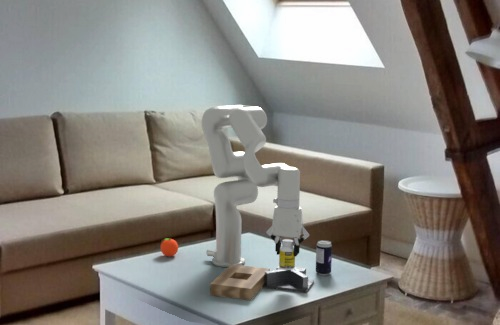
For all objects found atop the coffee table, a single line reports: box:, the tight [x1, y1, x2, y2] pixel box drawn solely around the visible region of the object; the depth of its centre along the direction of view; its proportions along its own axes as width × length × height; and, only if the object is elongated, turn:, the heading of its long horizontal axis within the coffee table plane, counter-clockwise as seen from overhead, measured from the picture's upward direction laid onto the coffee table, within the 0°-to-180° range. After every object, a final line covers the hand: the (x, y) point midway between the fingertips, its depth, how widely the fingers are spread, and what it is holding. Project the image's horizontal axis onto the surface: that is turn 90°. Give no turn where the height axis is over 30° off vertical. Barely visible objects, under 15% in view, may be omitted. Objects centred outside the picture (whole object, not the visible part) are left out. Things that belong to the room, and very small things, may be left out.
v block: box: [261, 265, 315, 294], centre depth 261 cm, size 16×11×5 cm
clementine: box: [160, 238, 179, 257], centre depth 292 cm, size 8×7×7 cm
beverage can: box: [315, 239, 333, 276], centre depth 273 cm, size 6×6×12 cm
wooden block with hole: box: [209, 264, 271, 301], centre depth 258 cm, size 14×22×4 cm, turn 162°
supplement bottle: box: [278, 238, 296, 270], centre depth 256 cm, size 5×5×10 cm
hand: (287, 254), depth 256 cm, fingers closed on supplement bottle, 5 cm apart
